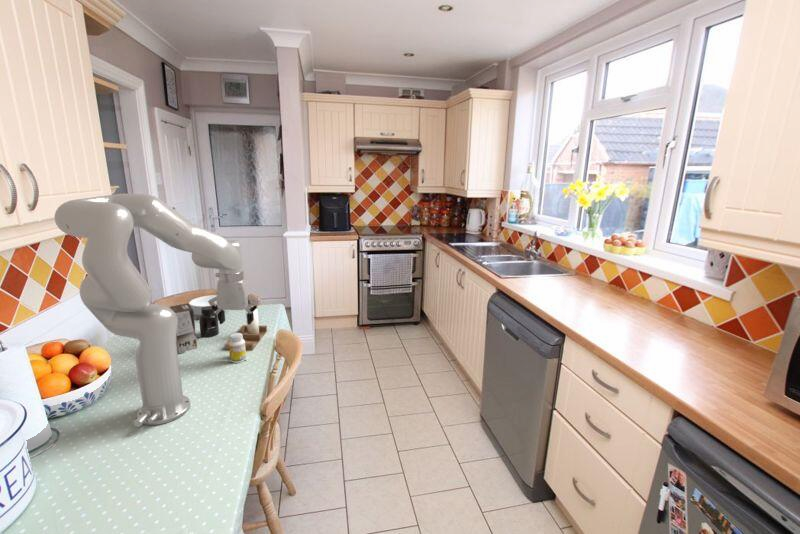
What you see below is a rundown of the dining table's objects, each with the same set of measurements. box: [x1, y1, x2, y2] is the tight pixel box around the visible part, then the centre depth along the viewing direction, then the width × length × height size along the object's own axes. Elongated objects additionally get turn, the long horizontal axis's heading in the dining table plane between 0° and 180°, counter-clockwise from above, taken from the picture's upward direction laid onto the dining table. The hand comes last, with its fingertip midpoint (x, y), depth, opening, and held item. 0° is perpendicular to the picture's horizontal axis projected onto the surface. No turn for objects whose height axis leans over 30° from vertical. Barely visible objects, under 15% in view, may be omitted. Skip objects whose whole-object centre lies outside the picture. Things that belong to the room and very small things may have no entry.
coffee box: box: [169, 302, 198, 354], centre depth 140 cm, size 9×6×16 cm
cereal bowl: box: [188, 294, 227, 316], centre depth 174 cm, size 17×17×7 cm
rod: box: [245, 308, 260, 334], centre depth 151 cm, size 4×4×11 cm
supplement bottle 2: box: [228, 332, 247, 364], centre depth 133 cm, size 5×5×10 cm
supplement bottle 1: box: [198, 306, 220, 339], centre depth 152 cm, size 7×7×12 cm
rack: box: [224, 324, 268, 352], centre depth 149 cm, size 18×10×3 cm, turn 2°
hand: (236, 322), depth 132 cm, fingers open, 9 cm apart
